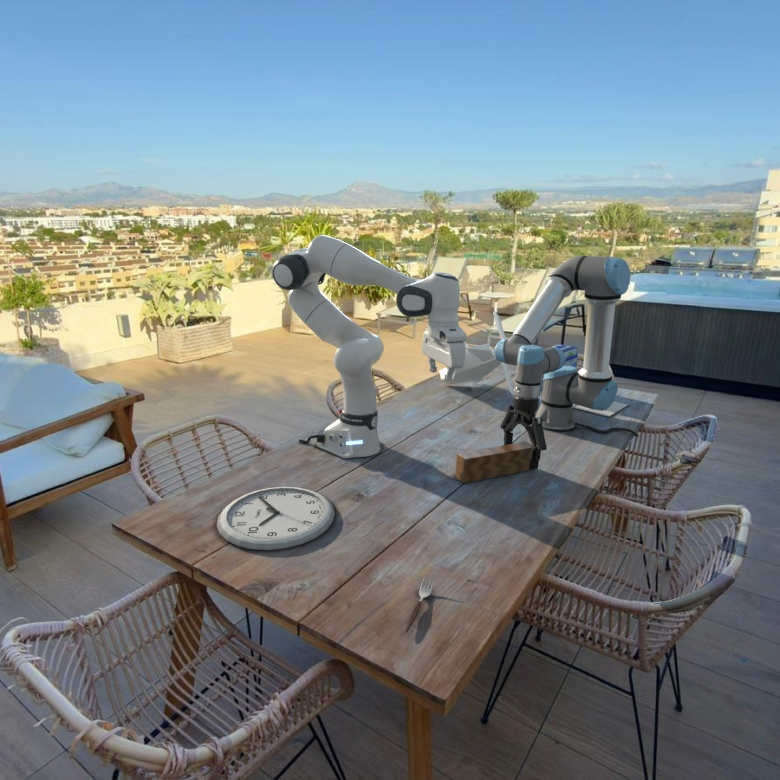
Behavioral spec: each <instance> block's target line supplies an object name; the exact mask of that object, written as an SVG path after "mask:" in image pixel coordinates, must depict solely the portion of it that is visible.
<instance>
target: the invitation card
mask: <svg viewBox="0 0 780 780" xmlns="http://www.w3.org/2000/svg"><path fill="white" fill-rule="evenodd" d="M628 406H629V404H627V403H623V402H618V401H615V400H614V401H613V403H612V404H611V405H610V407H609V408H607V409H606V410H604V411H600V410H595V409H594V410H592V409H590V408H587V407H583V406H580V405H575V406H574V407H573V409H575V410H581V411H584V412H587V413H593V414H596V415H600V416H604V417H608V418H609V417H611V416H613V415H614V414H616V413H617V412H619V411H621V410H623V409H624V408H626V407H628Z"/></svg>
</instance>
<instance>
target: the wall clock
mask: <svg viewBox="0 0 780 780" xmlns="http://www.w3.org/2000/svg"><path fill="white" fill-rule="evenodd" d="M335 516H336V513H335V509H334V505H333V504H332V503H331V502H330V500H329V499H328V498H327V497H325V496H323V495H322V494H321V493H319V492H316V491H313V490H311V489H307V488H302V487H296V486H279V487H278V486H277V487H267V488H263V489H258V490H255V491H251V492H249V493H246V494H243V495H242V496H240V497H238V498H235V499H234V500H232V501H231V502H230V503H228V505H226V506H225V507H223V509H222V510H221V512H220V514H219V515H218V517H217V521H216V529H217V531H218V533H219V535H220V536H221V537H222V538H223V539H224V540H225V541H226V542H227V543H230V544H233V545H235V546H236V547H239V548H244V549H249V550H257V551H274V550H285V549H289V548H292V547H297V546H301V545H304V544H306V543H308V542H310V541H312V540H315V539H317V538H318V537H319V536H321V535H323V534H324V533H325V532H326V531H328V529H329V528H330V527H331V525H332V524H333V522H334V518H335Z"/></svg>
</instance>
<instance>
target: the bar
mask: <svg viewBox="0 0 780 780" xmlns="http://www.w3.org/2000/svg"><path fill="white" fill-rule="evenodd" d="M531 449H533V446H532V443H529V442H527V441H521V442H515V443H512V444H508V445H504V444H502V445H497V446H492V447H491V446H490V447H485V448H480V449H473V450H467V451H462V452H457V453H456V465H455V477H456V479H458V480H459V481H460V482H461V483H462V484H467V483H472V482H476V481H482V480H487V479H491V478H498V477H502V476H509V475H513V474H518V473H522V472H528V471H533V470H534V469H532V470H530V469H529V466H530V457H531Z"/></svg>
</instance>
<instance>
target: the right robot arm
mask: <svg viewBox="0 0 780 780" xmlns="http://www.w3.org/2000/svg"><path fill="white" fill-rule="evenodd" d="M544 284H545V287H544V288H543V289H542V291H541V292H540V294H539V295H538V296H537V298H536V300H535V301H534V303H533V304H532V305H531V307H530V308H529V310H528V311H527V313H526V314H525V315H524V317H523V319H522V320H521V321H520V323H519V324H518V325H517V327H516V329H515V330H514V332H513V333H512V335H510V337H509V339H506V340H501V339H500V340H499V341H498V342H497V343H496V345H495V346H494V350H495V351H494V354H495V357H496V359H497V360H498V361H500V362H503V363H506V364H507V365H511V366H515V365H516V366H517V369H516V372H515V373H516V374H515V383H514V388H515V393H514V394H515V396H513V401H512V403H513V404H509V405H508V407H507V412H506V414H505V416H504V418H503V420H502V422H501V424H500V425H499V426H500V429H501V430H502V431H503V433H504V435H503V445H508V444H513V439H514V429H516V427H517V426H518V425H521V426H522V427H524V430H525V431H527V434H528V437H529V440H530V444H531V445H532V446H533V449H531V457H530V466H529V469H530V470H529V471H533V470H537V469H539V465H540V464H539V463H540V460H541V454H542V451H546V450H547V449H548V448H547V447H548V446H547V442H546V437H545V432H544V430H549V431H556V432H567V431H572V430H574V429H575V428H576V426H579V427H582V428H586V429H589V430H592V431H594V432H596V433H599V434H607V433H610V432H611V431H624V432H629V433H631V434H632V435H633V436H634V437H636V438H639V437H640V436H639V435H638V433H637V432H636V431H634V430H633V429H630V428H627V427H610V428H608V429H605V430H602V429H598V428H596V427H593V426H590V425H587V424H584V423H580V422H577V421H576V418H575V417H576V416H575V413H574V407H573V405H575V406H578V405H580V406H583V407H587V408H590V409H592V410H594V409H595V410H600V411H604V410H606V409H607V408H609V407H610V405H611V404H612V403H613V401H614V402H615V399H616V397H617V394H618V390H619V383H618V382H617V380H615V379H613V375H614V374H613V372H612V371H611V370H610V369H609V368H610V360H611V349H612V342H613V341H612V340H613V331H614V323H615V322H614V321H615V312H616V304H617V302H619V301H620V300H621V298H622V295H624V294H626V293H627V292H628V290H629V286H630V284H631V269H630V266H629V264H628V262H627V261H626V260H625V259H624V258H621V257H613V256H593V255H592V256H590V255H578V256H577V255H576V256H574V257H571V258H569V259H567V260H566V261H564V262H563V263H561V264H559V265H558V266H557V267H556V268H555V269H554V270H553V271H552V272H551V273H550V274H549V276H548V277H547V279H546V280H545V283H544ZM575 291H583V292H584V299H585V301H587V303H588V305H587V318H586V330H585V341H584V352H583V364H582V368H580V369H579V370H578V368H577V366H576V367H573V366H563V365H564V364H565V354H564V352H563V351H562V350H561V349H560V348H557V347H552V346H549V347H543V346H540V345H536V344H535V342H536V341H537V340H538V338H539V336H540V335H541V333H542V332H543V330H544V329H545V327H546V326H547V325H548V323H549V322H550V320H551V319H552V317H553V316H554V314H555V313H556V312H557V310H558V308H559V307H560V306H561V304H562V302H563V301H564V299H565V298H568V297H570V296H571V294H572V293H573V292H575ZM516 366H515V367H516ZM543 374H544V378H543V380H544V381H543V391H540V388H541V378H542V375H543ZM541 392H542V394H541ZM540 396H541V402H540V398H539V397H540ZM539 404H540V405H539ZM532 469H533V470H532Z"/></svg>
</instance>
